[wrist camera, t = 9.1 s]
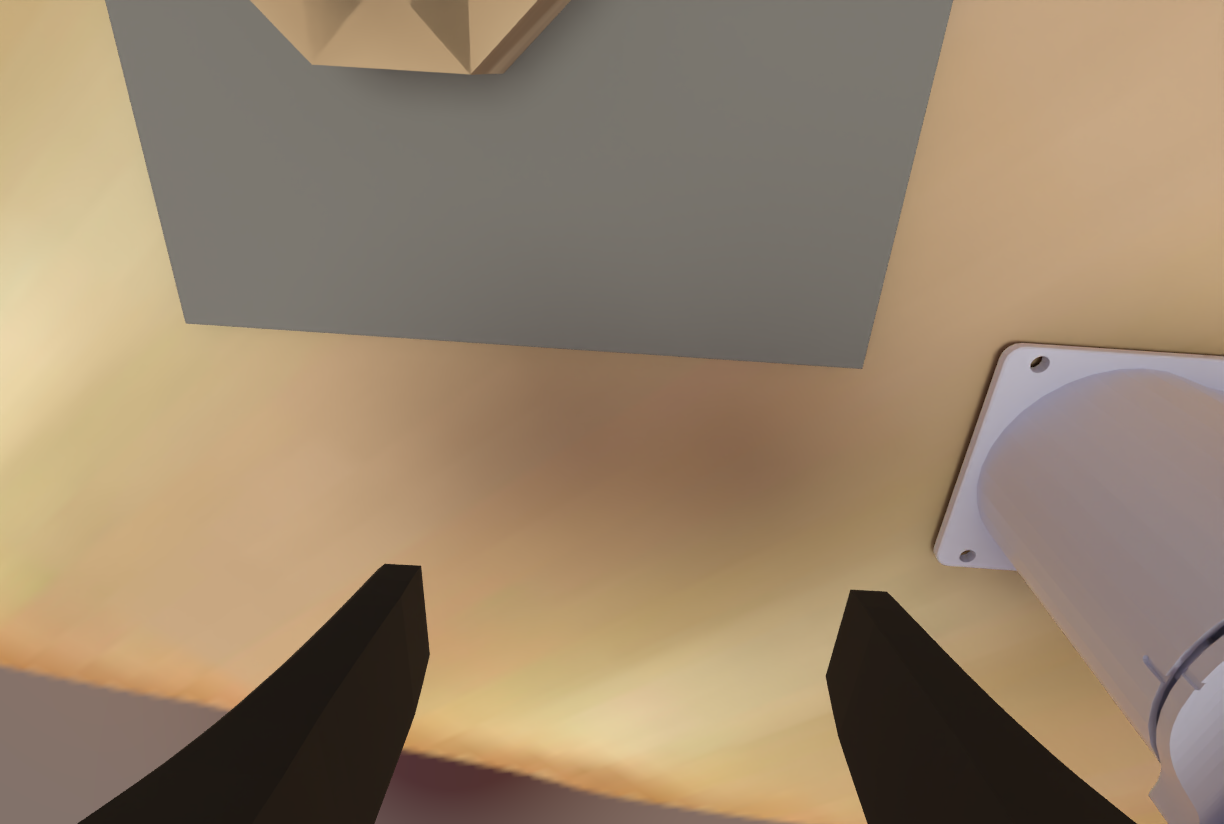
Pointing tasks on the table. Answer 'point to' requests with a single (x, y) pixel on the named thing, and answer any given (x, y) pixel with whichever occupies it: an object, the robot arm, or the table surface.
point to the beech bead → (412, 32)
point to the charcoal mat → (544, 176)
